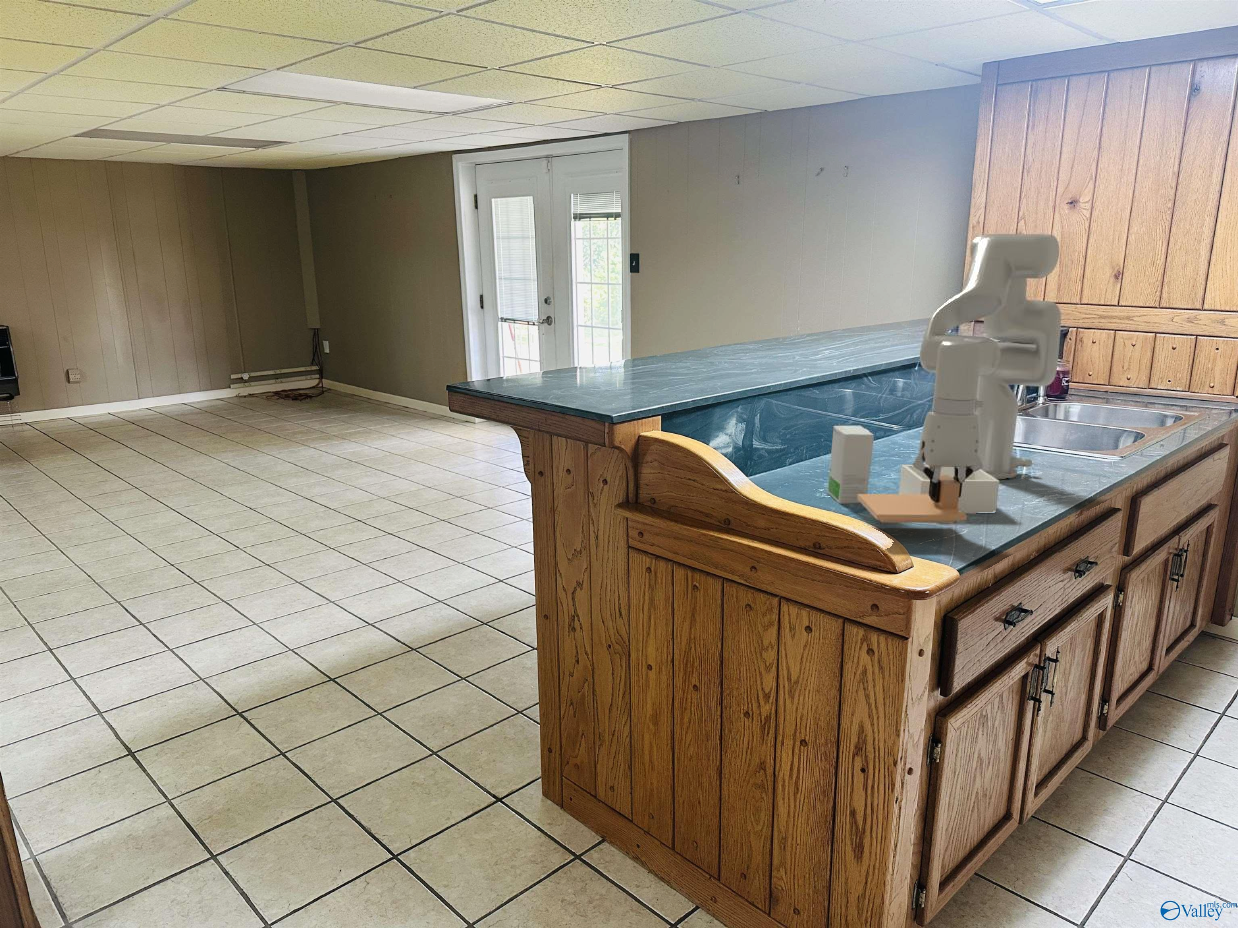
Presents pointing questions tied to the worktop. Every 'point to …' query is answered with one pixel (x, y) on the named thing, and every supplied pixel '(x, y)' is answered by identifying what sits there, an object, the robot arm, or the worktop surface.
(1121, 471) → the worktop surface
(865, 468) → the skincare box
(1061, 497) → the worktop surface
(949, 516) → the lid
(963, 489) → the tub
